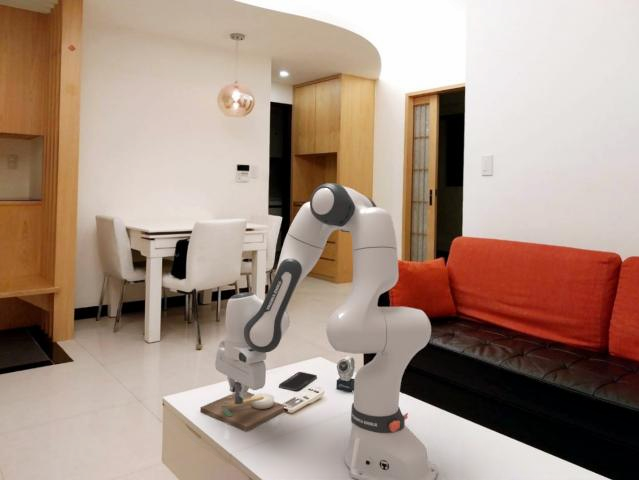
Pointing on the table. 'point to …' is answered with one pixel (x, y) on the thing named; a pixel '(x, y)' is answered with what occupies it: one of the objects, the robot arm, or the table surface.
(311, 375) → the phone
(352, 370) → the watch
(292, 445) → the table surface
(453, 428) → the table surface
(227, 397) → the gauge panel
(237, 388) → the dial knob with pointer
